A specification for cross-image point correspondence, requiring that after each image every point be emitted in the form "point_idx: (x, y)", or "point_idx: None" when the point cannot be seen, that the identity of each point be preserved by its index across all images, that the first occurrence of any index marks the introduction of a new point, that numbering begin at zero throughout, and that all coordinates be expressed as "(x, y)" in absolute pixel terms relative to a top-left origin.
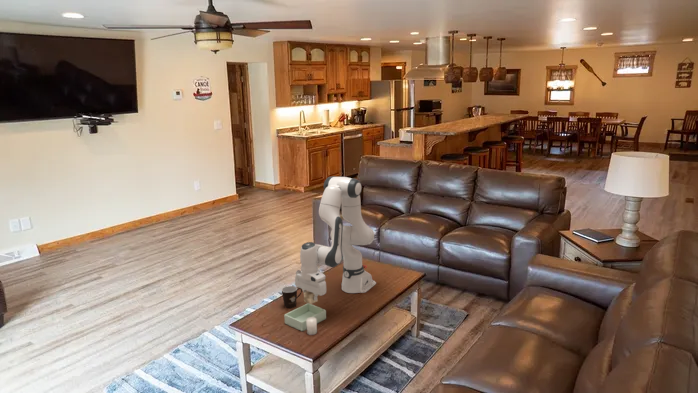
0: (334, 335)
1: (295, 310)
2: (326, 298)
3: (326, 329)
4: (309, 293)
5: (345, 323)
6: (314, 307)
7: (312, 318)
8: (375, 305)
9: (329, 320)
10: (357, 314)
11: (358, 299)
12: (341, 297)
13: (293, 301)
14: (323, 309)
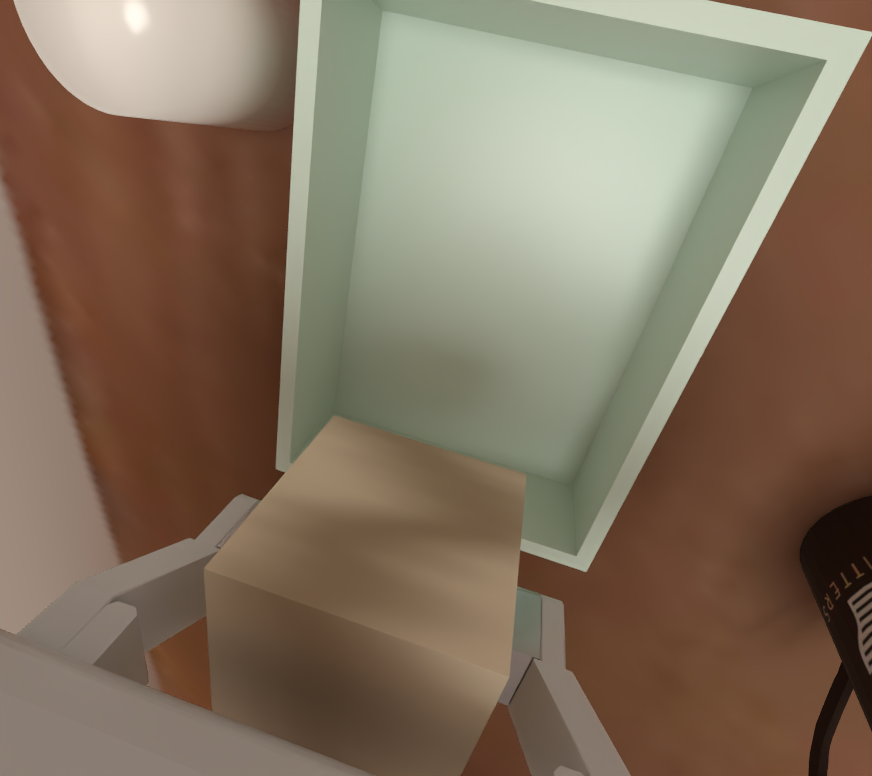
0: (36, 135)
1: (685, 329)
2: None
3: (180, 214)
4: (313, 659)
5: (137, 392)
6: None
7: (115, 57)
8: (172, 657)
9: (279, 392)
10: (172, 540)
11: None
12: None
13: (861, 588)
14: None
